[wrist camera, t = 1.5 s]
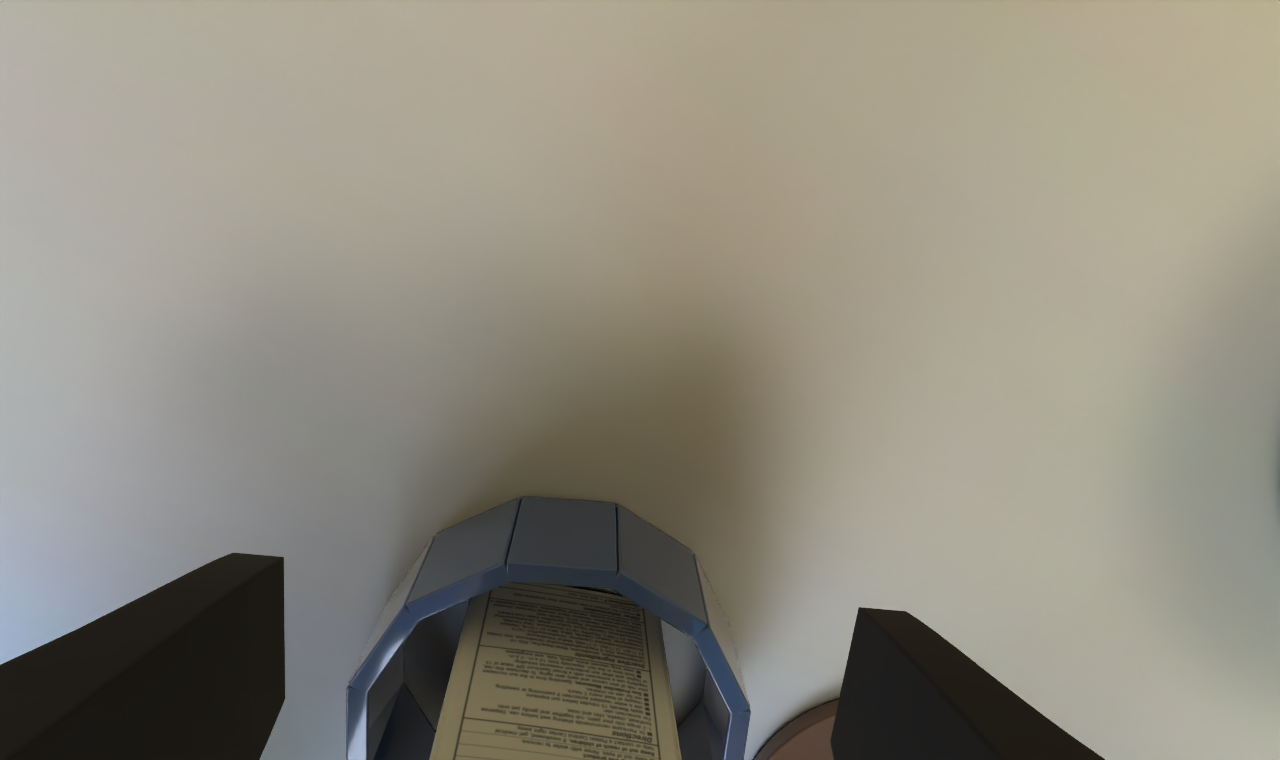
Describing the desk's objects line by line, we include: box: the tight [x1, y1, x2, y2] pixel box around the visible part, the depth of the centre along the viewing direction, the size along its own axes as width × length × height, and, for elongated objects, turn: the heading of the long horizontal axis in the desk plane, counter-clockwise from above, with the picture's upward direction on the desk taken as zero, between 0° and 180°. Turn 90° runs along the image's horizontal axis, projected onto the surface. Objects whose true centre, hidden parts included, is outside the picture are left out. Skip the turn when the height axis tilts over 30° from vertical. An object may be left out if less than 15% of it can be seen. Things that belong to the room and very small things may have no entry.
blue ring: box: [346, 496, 751, 760], centre depth 21 cm, size 9×9×4 cm
